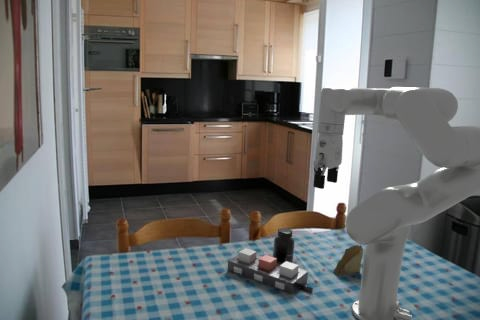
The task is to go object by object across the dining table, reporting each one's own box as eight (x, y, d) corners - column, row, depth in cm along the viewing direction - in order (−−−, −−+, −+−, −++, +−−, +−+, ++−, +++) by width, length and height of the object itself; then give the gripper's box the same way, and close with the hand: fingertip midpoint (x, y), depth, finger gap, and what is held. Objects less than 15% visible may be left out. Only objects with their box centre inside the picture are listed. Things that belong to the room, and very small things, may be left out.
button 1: (297, 283, 131) (298, 265, 130) (290, 288, 128) (292, 269, 126) (284, 279, 133) (286, 261, 132) (278, 284, 130) (279, 265, 129)
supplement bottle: (291, 269, 141) (294, 235, 139) (271, 267, 142) (273, 232, 140) (293, 261, 148) (296, 228, 145) (273, 258, 149) (276, 225, 146)
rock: (336, 274, 135) (368, 270, 135) (331, 247, 138) (362, 244, 139) (330, 280, 144) (359, 277, 145) (325, 254, 148) (354, 251, 148)
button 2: (275, 276, 135) (276, 258, 134) (269, 280, 132) (270, 262, 131) (264, 272, 137) (265, 254, 136) (257, 276, 134) (258, 258, 133)
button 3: (255, 268, 139) (256, 251, 138) (248, 273, 136) (249, 255, 135) (244, 265, 141) (245, 248, 140) (237, 269, 138) (238, 251, 137)
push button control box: (318, 287, 130) (320, 275, 129) (303, 300, 122) (305, 287, 121) (245, 261, 145) (245, 250, 144) (227, 272, 137) (227, 260, 136)
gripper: (330, 133, 118) (325, 192, 122) (353, 128, 132) (347, 182, 136) (306, 129, 123) (301, 187, 126) (330, 125, 137) (325, 177, 140)
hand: (325, 184), depth 131 cm, fingers open, 9 cm apart
